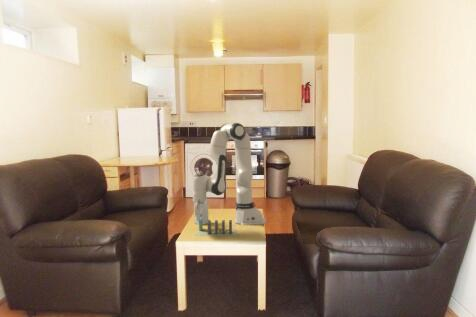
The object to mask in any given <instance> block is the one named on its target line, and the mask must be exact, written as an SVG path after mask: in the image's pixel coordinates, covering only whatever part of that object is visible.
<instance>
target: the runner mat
mask: <svg viewBox="0 0 476 317" xmlns="http://www.w3.org/2000/svg"><path fill="white" fill-rule="evenodd" d="M195 236H209V235H208V231H196V233H195ZM210 236H216V235H215V231H211V235H210ZM217 236H223V235H222V231H218V235H217ZM224 236H238V232H237V231H232V234H229V231H225V235H224Z"/></svg>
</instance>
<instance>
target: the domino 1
mask: <svg viewBox="0 0 476 317" xmlns="http://www.w3.org/2000/svg"><path fill="white" fill-rule="evenodd" d="M198 225H199V226H198V230H199V231H198V232H203V224H202V218H200V221H199V224H198Z"/></svg>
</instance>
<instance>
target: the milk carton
mask: <svg viewBox="0 0 476 317" xmlns="http://www.w3.org/2000/svg"><path fill="white" fill-rule="evenodd" d="M193 215H194V217H193V218H194V224H196V225H199V221H197V216H195V202H194V201H193ZM200 218H202V225H207V224H208V220H209V202H208V200H207V199H206V201H205V204H204V209H203V211H202V217H200Z"/></svg>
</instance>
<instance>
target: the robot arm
mask: <svg viewBox="0 0 476 317" xmlns="http://www.w3.org/2000/svg"><path fill="white" fill-rule="evenodd" d="M230 140H232V141H234V156H235V158H234V159H235V169H236V170H235V189H236V190H235V191H236V202H235V210H236V211H235V218H234V223H236V224H238V225H243V226H248V225H249V226H251V225H252V226H253V225H265V224H266V223H267V220H266V218H265V217H264V216H263V213H262V211H261V210H259V209H258V208H257V207H256V206H257V204H256V203H255V202H254V201H253V189H252V188H253V187H252V181H253V179H254V178H253V165H252V147H251V146H252V145H251V139H250V135H249V133H247V132H246V129H245V127H244V126H243V124H241V123H240V122H239V123H238V122H230V123H224V124H222V125H221V127H220V128H219V129H218V130H215V131H214V132H213V134H212V137H211V139H210V145H209V149H208V150H209V151H208V154H209V157H210V158H211V159H212V160H213V161H214V163H215V164H216V177H212V176H211V177H210V176H208V175H207V174H205V172H204V173H203V172H202V173H201V172H200V173H196V174H195V175H193V178H192V189H193V191H192V192H193V193H192V202H193V203H194V202H195V216H197V221H200V217H202V211H203V209H204V204H205V201H206V200H207V193H208V192H209V193H212V194H214V195H216V196H221V195H223V194H224V193H225V191H226V190H227V181H226V176H227V166H228V161H227V155H226V154H227V152H226V151H227V146H228V142H229V141H230Z"/></svg>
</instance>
